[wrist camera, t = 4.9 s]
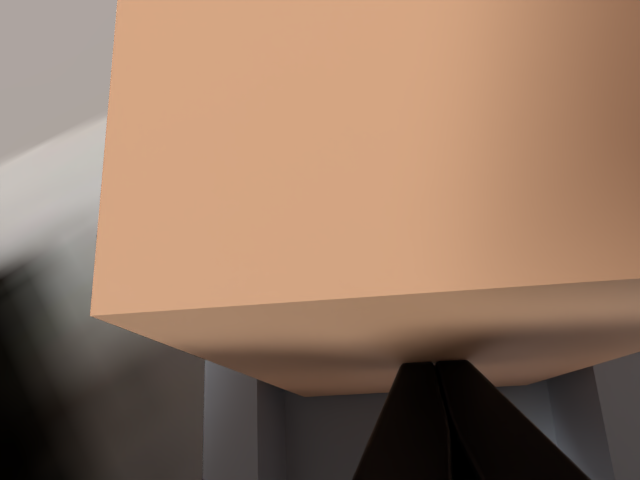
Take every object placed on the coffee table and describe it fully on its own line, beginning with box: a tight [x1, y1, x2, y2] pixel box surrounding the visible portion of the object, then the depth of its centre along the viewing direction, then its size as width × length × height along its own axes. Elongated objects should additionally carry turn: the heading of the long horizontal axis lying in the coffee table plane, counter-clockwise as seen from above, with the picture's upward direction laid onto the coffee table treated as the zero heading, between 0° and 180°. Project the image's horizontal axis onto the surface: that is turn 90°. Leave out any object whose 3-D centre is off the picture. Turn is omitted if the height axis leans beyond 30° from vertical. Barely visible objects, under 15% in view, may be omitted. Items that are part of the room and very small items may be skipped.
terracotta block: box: [90, 0, 640, 397], centre depth 9 cm, size 5×5×10 cm
